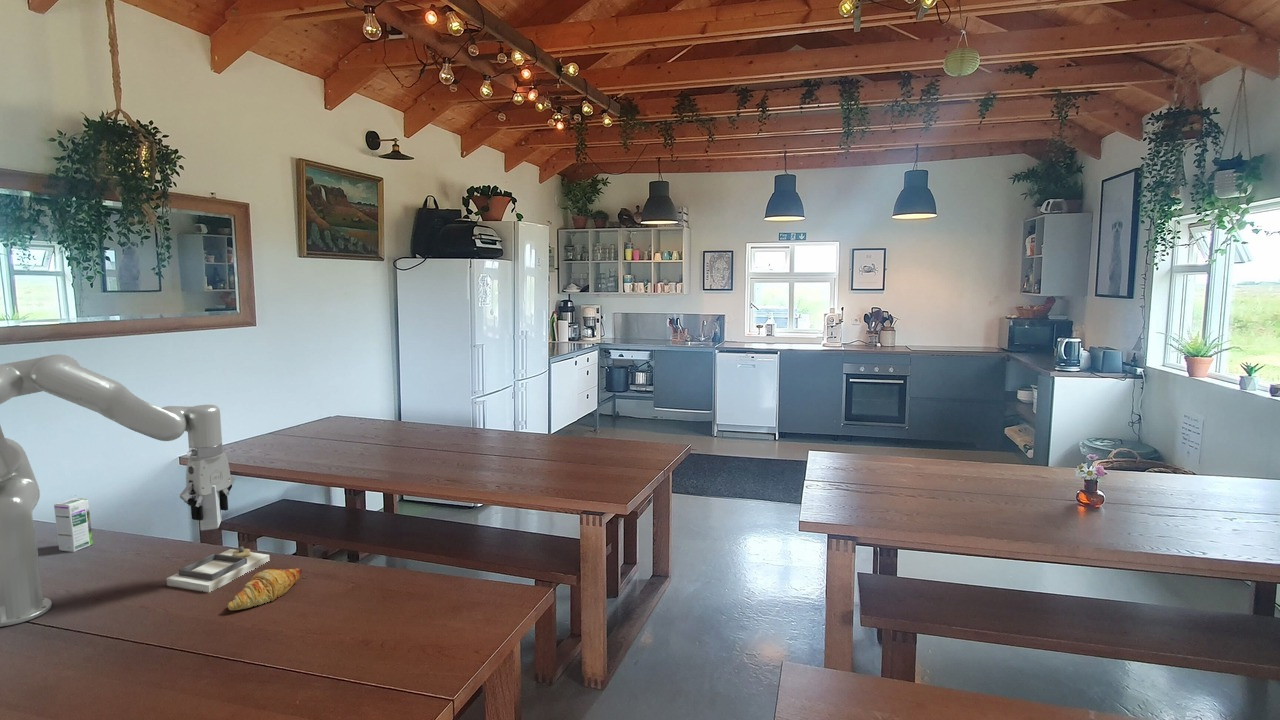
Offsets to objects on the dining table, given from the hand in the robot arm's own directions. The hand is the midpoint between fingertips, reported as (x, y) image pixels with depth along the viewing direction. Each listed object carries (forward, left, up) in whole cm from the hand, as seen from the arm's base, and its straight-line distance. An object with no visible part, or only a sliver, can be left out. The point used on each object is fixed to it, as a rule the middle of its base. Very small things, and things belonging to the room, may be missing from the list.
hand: (210, 514), depth 182 cm
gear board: (+2, 0, -18) cm, 18 cm away
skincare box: (0, 0, -4) cm, 4 cm away
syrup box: (+3, +55, -18) cm, 58 cm away
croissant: (-5, -22, -18) cm, 29 cm away
